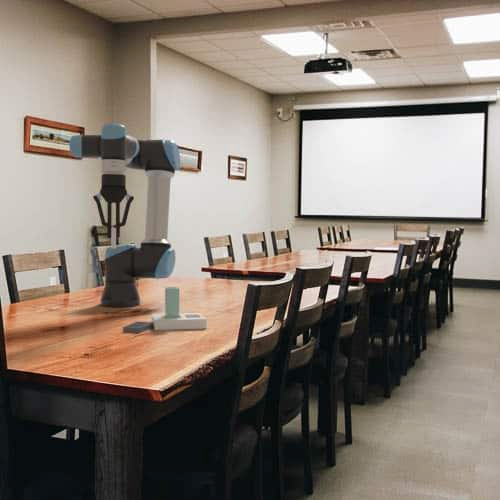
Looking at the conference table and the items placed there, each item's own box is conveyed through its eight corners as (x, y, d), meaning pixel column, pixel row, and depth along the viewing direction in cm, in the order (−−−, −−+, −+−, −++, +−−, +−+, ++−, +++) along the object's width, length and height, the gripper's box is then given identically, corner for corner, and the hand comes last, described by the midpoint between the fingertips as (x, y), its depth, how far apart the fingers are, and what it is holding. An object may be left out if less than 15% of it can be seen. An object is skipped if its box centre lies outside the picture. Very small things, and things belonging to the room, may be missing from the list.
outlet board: (151, 323, 211) (151, 313, 211) (200, 321, 215) (200, 312, 215) (154, 330, 199) (154, 319, 199) (206, 328, 203) (206, 318, 203)
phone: (136, 327, 206) (136, 321, 206) (153, 328, 204) (153, 322, 204) (123, 333, 196) (123, 326, 196) (139, 334, 195) (139, 327, 195)
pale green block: (165, 324, 208) (165, 286, 207) (177, 324, 209) (177, 286, 208) (166, 326, 204) (166, 287, 203) (179, 326, 205) (179, 287, 204)
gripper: (92, 172, 201) (92, 248, 202) (135, 173, 204) (135, 248, 206) (92, 173, 208) (92, 247, 210) (133, 175, 211) (133, 247, 213)
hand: (113, 248), depth 208 cm, fingers closed
